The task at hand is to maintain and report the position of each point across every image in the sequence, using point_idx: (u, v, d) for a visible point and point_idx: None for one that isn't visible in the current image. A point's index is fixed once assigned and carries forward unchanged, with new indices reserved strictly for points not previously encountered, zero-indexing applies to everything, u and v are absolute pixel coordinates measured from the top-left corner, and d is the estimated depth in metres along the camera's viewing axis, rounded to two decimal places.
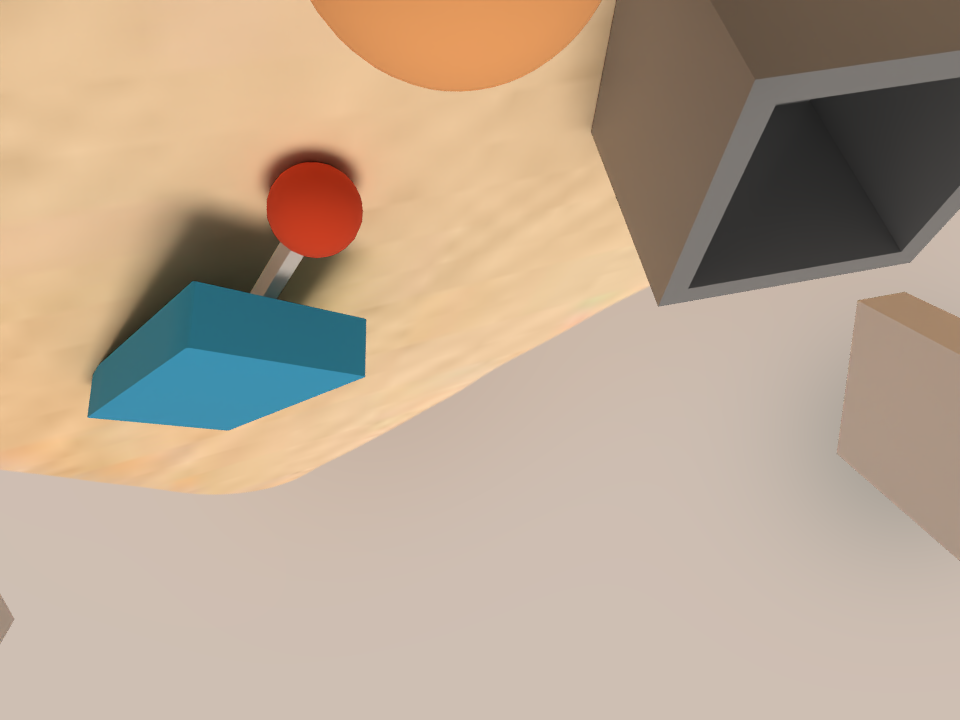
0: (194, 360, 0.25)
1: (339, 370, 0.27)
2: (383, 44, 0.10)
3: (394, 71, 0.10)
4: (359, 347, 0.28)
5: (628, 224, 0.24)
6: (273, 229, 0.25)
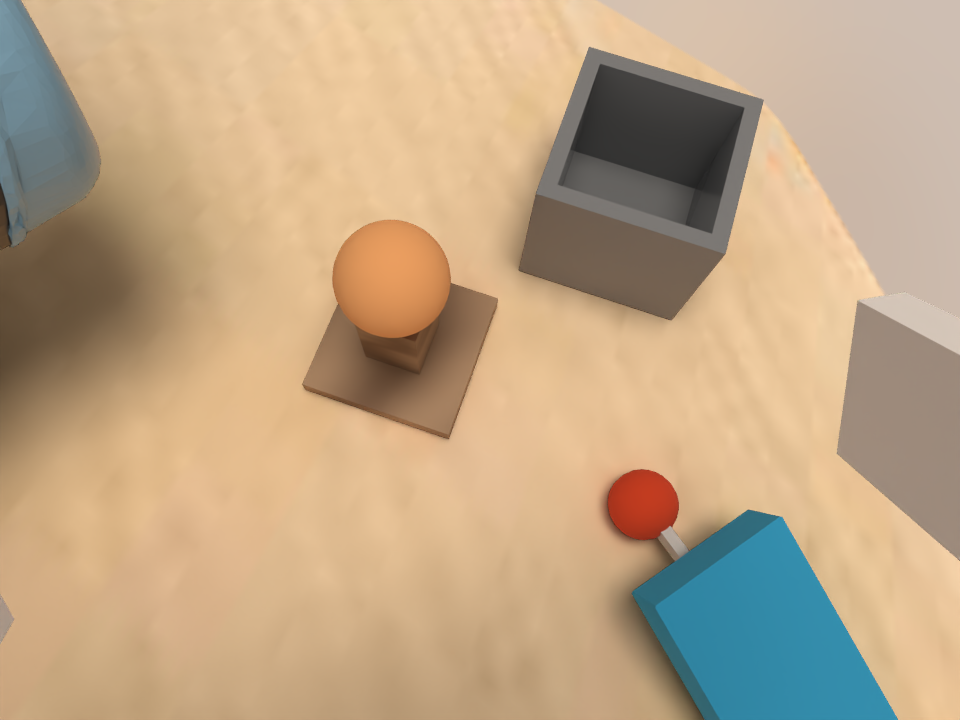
0: (685, 626, 0.29)
1: (761, 531, 0.30)
2: (389, 292, 0.27)
3: (406, 297, 0.28)
4: (761, 517, 0.31)
5: (697, 284, 0.35)
6: (635, 531, 0.33)
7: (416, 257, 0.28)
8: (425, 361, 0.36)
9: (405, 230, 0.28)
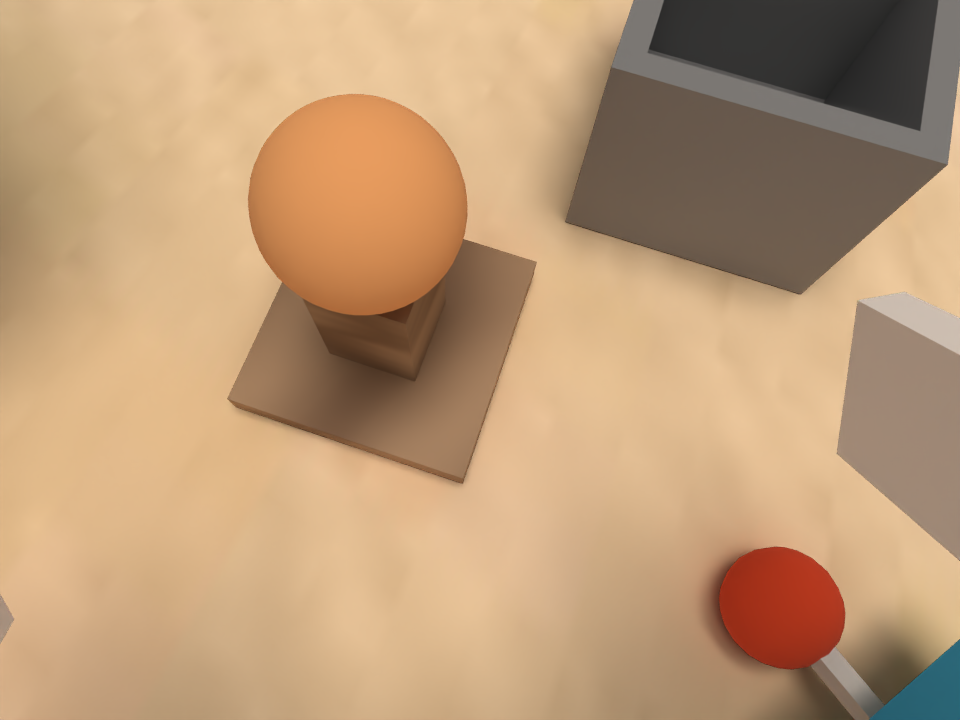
0: None
1: None
2: (350, 220, 0.14)
3: (384, 232, 0.14)
4: None
5: (868, 229, 0.21)
6: (777, 659, 0.19)
7: (402, 153, 0.14)
8: (424, 360, 0.23)
9: (381, 106, 0.15)
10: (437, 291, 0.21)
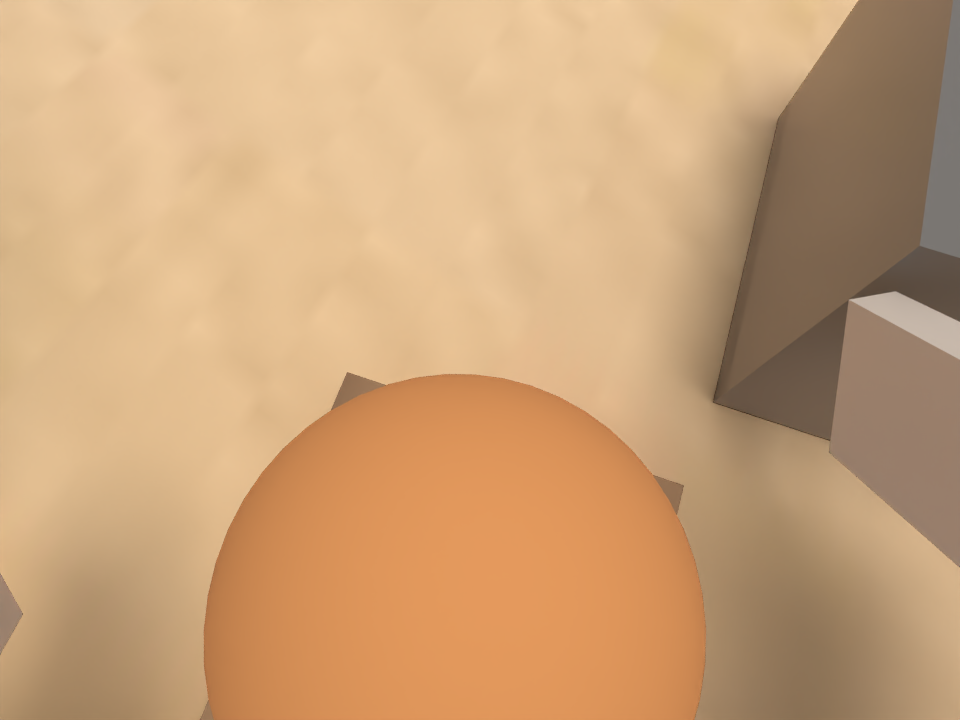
0: None
1: None
2: None
3: None
4: None
5: None
6: None
7: (609, 621, 0.05)
8: None
9: (536, 461, 0.06)
10: None
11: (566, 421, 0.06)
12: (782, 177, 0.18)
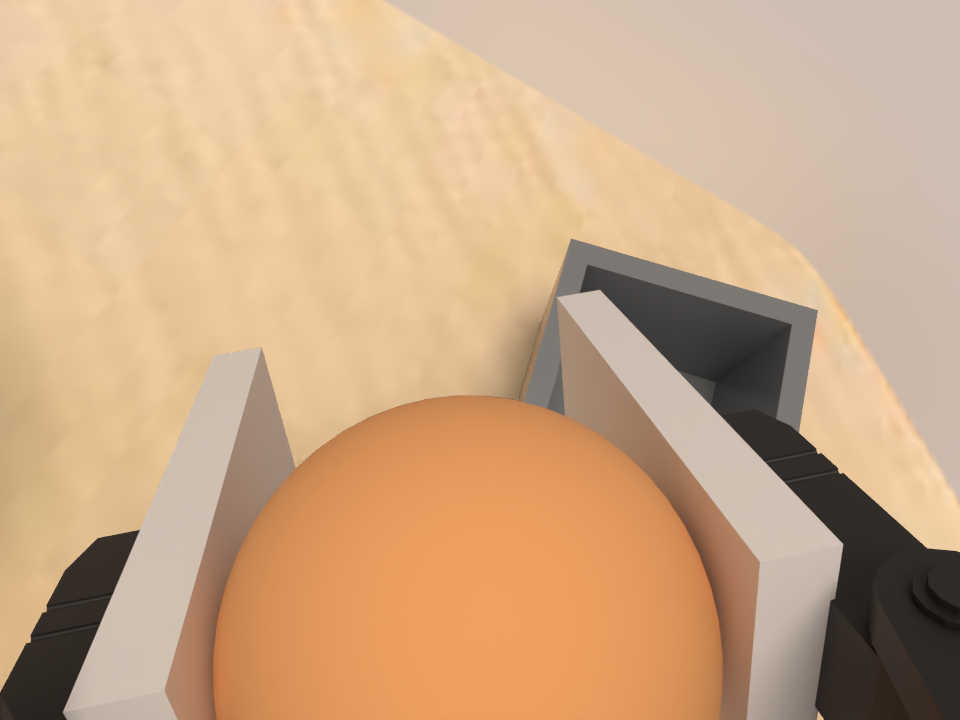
0: None
1: None
2: None
3: None
4: None
5: None
6: None
7: (627, 655, 0.05)
8: None
9: (552, 489, 0.06)
10: None
11: (580, 446, 0.06)
12: None
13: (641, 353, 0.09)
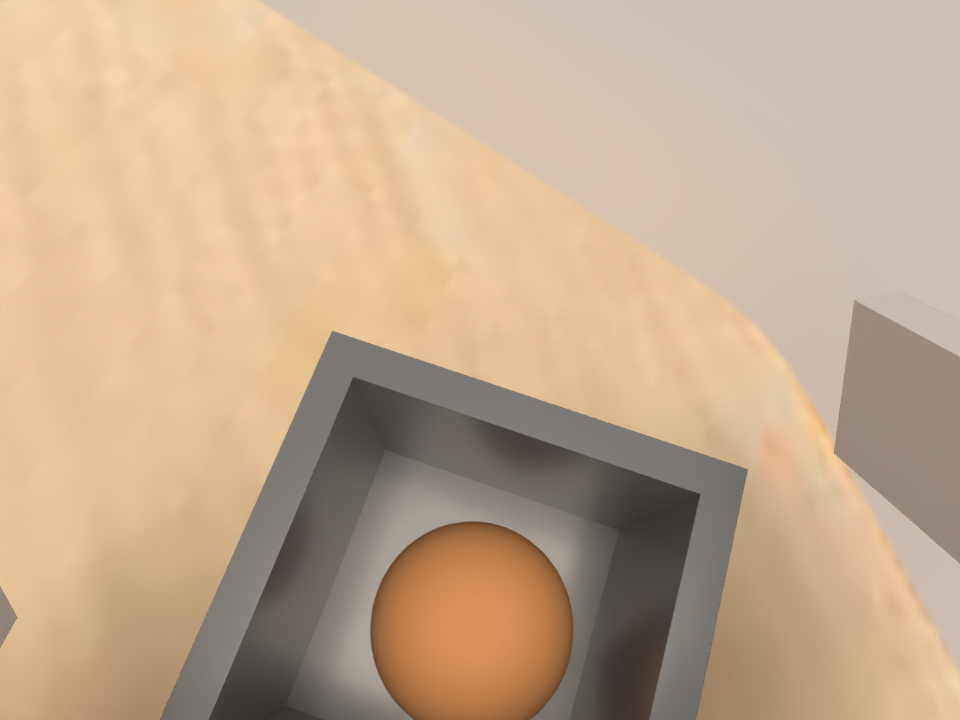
0: None
1: None
2: (493, 703, 0.15)
3: (520, 706, 0.15)
4: None
5: None
6: None
7: (539, 631, 0.15)
8: None
9: (515, 572, 0.16)
10: None
11: (524, 552, 0.16)
12: None
13: None
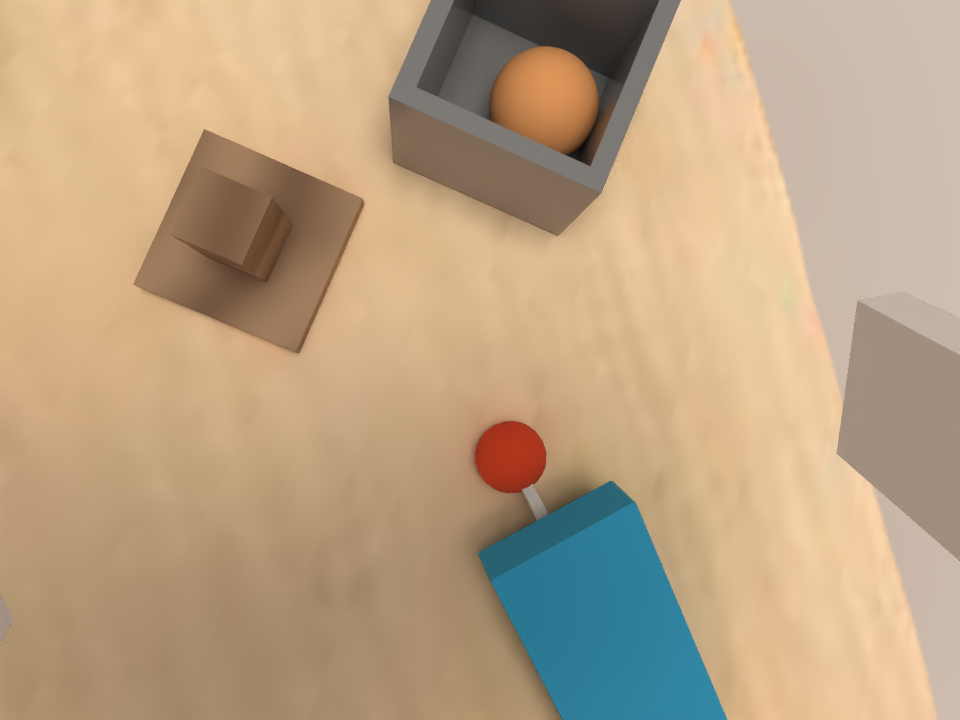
0: (519, 598, 0.29)
1: (611, 515, 0.29)
2: (569, 133, 0.31)
3: (576, 139, 0.31)
4: (618, 495, 0.30)
5: (577, 212, 0.31)
6: (496, 486, 0.33)
7: (593, 104, 0.31)
8: (274, 267, 0.33)
9: (586, 73, 0.30)
10: (278, 227, 0.31)
11: (586, 66, 0.31)
12: None
13: None
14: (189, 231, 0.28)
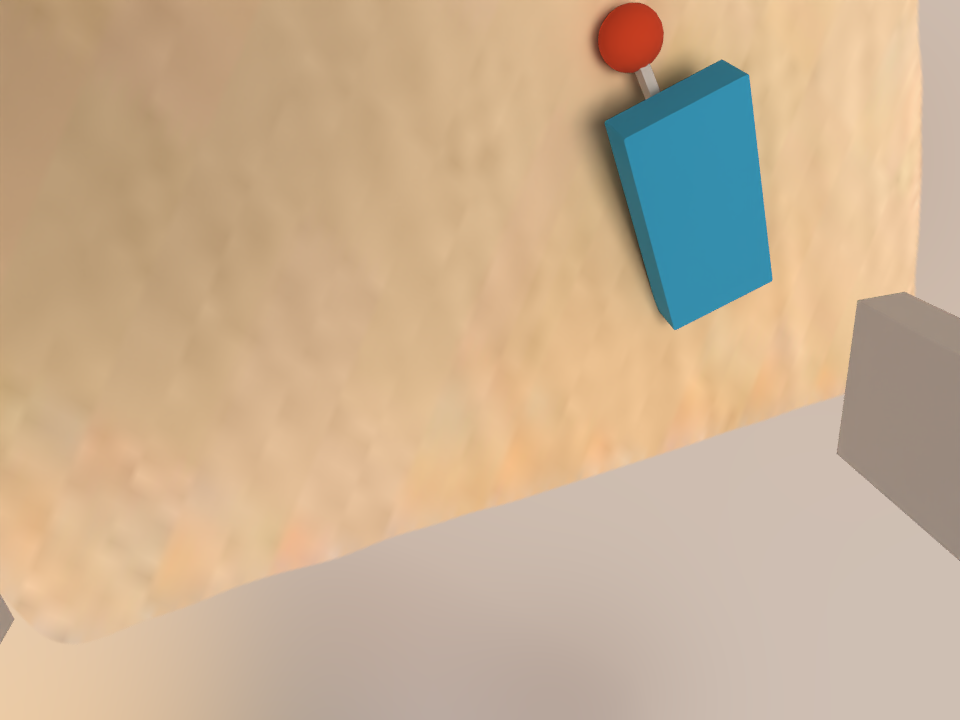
0: (642, 156, 0.36)
1: (727, 85, 0.35)
2: None
3: None
4: (731, 70, 0.35)
5: None
6: (618, 65, 0.37)
7: None
8: None
9: None
10: None
11: None
12: None
13: None
14: None
